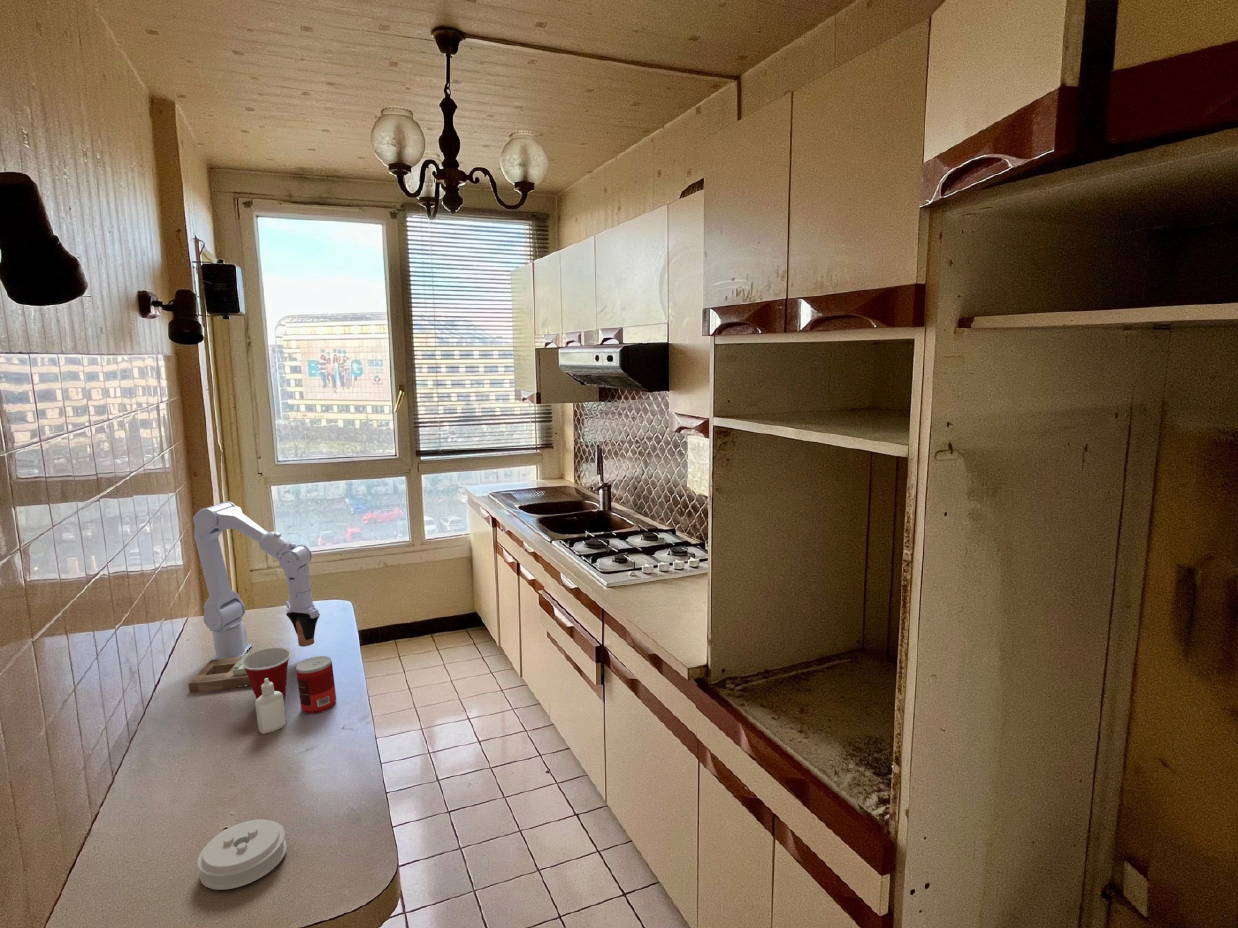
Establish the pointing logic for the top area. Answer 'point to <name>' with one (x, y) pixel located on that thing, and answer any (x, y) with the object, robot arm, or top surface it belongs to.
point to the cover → (239, 667)
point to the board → (218, 676)
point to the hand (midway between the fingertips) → (305, 636)
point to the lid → (242, 854)
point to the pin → (302, 636)
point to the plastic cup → (267, 668)
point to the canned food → (316, 684)
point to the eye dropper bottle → (270, 709)
